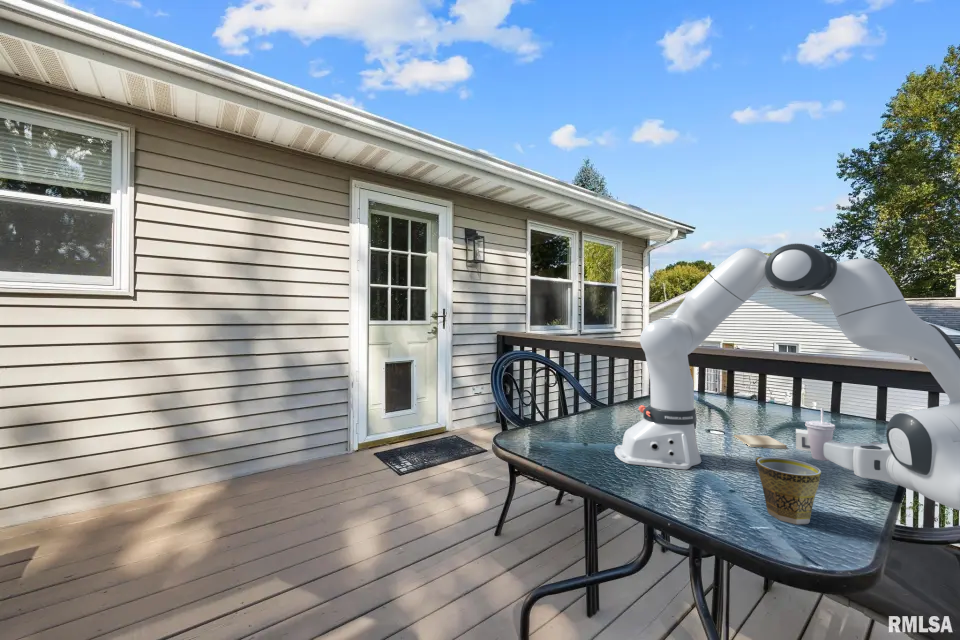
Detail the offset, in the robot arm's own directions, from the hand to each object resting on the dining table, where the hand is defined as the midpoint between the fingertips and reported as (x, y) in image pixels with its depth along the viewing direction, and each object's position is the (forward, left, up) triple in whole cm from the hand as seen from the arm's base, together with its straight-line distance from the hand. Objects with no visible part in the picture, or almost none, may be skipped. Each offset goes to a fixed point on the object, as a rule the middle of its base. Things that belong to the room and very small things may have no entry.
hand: (853, 444), depth 99 cm
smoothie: (0, +12, -8) cm, 14 cm away
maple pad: (-9, +25, -8) cm, 27 cm away
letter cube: (+2, +21, -8) cm, 22 cm away
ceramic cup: (-29, -23, -8) cm, 38 cm away
